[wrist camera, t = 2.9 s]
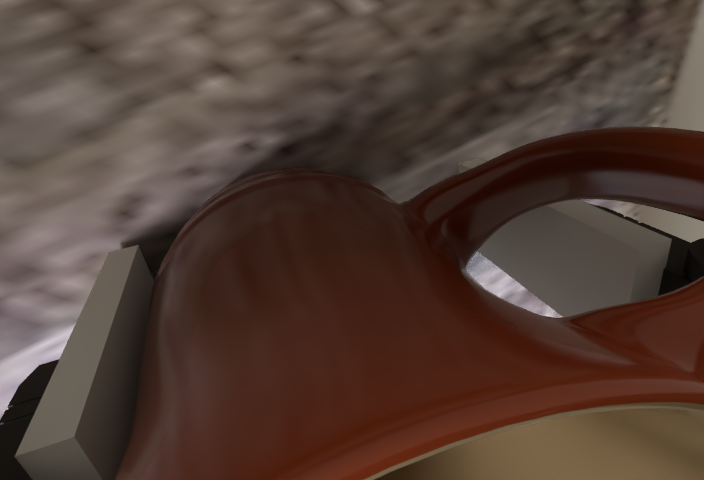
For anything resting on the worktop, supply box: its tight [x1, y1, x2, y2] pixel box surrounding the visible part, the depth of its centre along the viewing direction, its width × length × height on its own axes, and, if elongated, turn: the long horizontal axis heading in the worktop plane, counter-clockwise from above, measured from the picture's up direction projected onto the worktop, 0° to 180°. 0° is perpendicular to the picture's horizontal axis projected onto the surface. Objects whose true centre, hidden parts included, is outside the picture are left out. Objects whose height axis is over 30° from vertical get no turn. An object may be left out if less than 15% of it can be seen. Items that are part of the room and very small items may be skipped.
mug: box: [114, 127, 704, 480], centre depth 9 cm, size 12×9×10 cm
